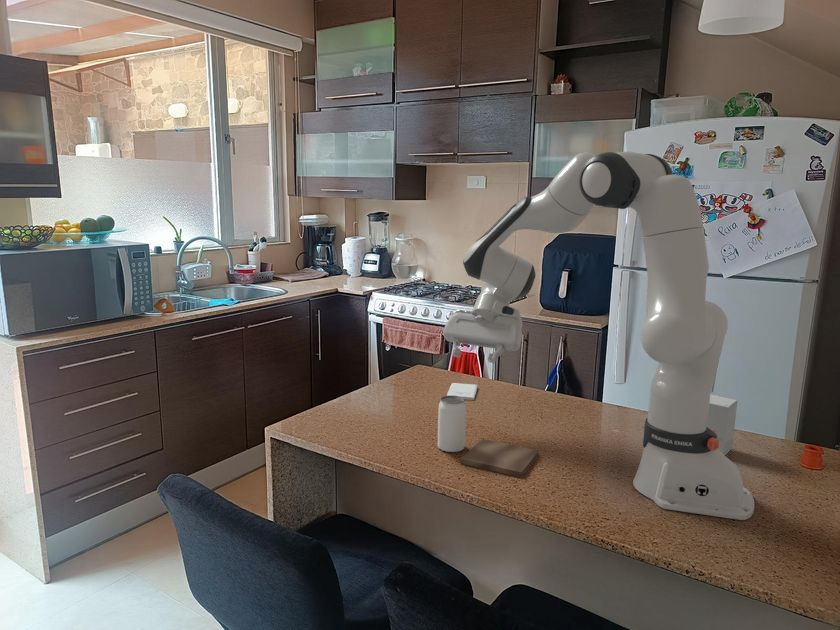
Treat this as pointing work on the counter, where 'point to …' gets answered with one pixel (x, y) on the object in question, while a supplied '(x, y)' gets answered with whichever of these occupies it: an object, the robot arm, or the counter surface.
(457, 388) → the external hard drive
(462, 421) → the can
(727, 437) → the supplement box
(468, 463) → the walnut board
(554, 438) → the counter surface
